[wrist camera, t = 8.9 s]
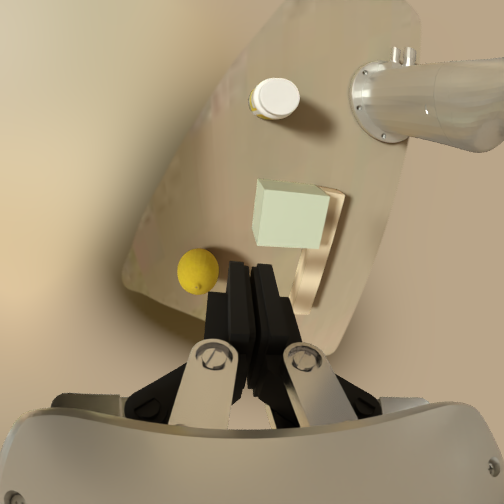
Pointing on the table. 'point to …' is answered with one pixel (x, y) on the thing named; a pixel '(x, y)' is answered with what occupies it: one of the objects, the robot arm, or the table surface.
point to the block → (289, 214)
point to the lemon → (198, 271)
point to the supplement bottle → (274, 99)
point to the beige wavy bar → (315, 257)
